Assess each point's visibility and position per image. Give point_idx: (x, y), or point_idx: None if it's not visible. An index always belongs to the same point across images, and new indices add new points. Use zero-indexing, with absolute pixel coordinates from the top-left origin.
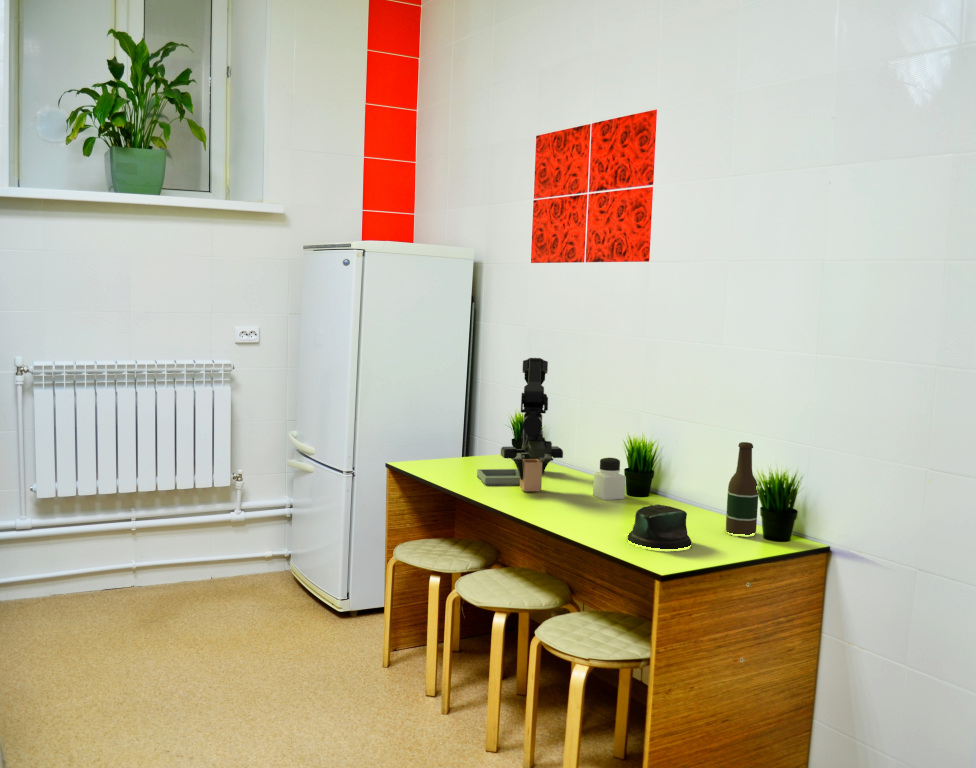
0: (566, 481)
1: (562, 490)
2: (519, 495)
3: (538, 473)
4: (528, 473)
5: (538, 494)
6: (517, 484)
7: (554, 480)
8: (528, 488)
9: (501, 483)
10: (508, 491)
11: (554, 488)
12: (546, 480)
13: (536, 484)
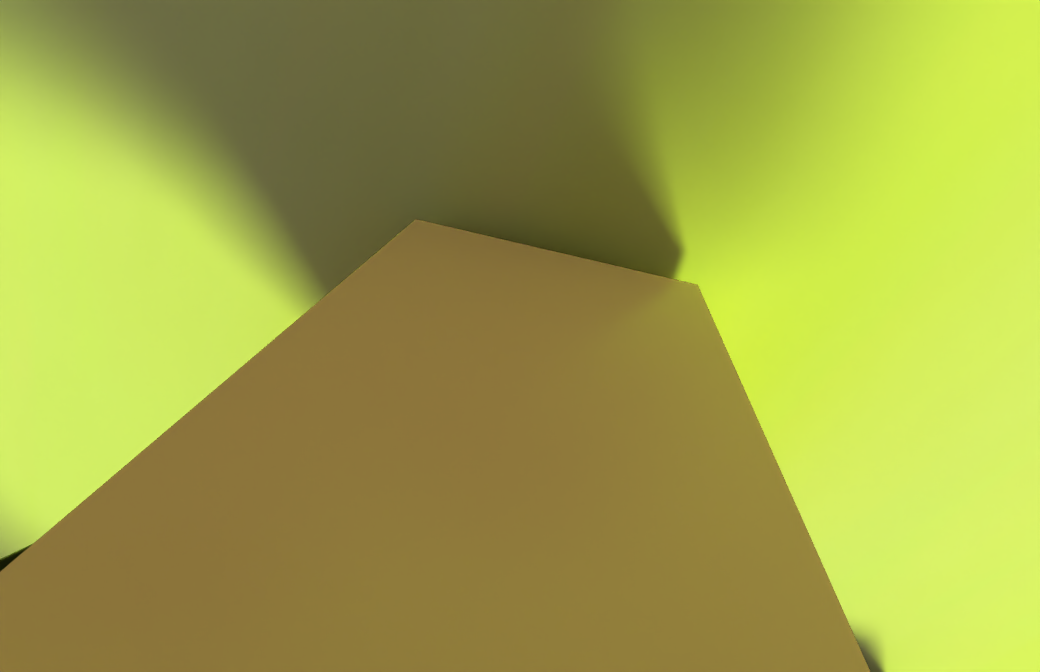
0: None
1: (98, 251)
2: (891, 131)
3: (338, 407)
4: (672, 494)
5: (514, 109)
6: None
7: None
8: (627, 287)
9: None
10: (845, 419)
11: (189, 371)
12: None
13: (472, 282)
